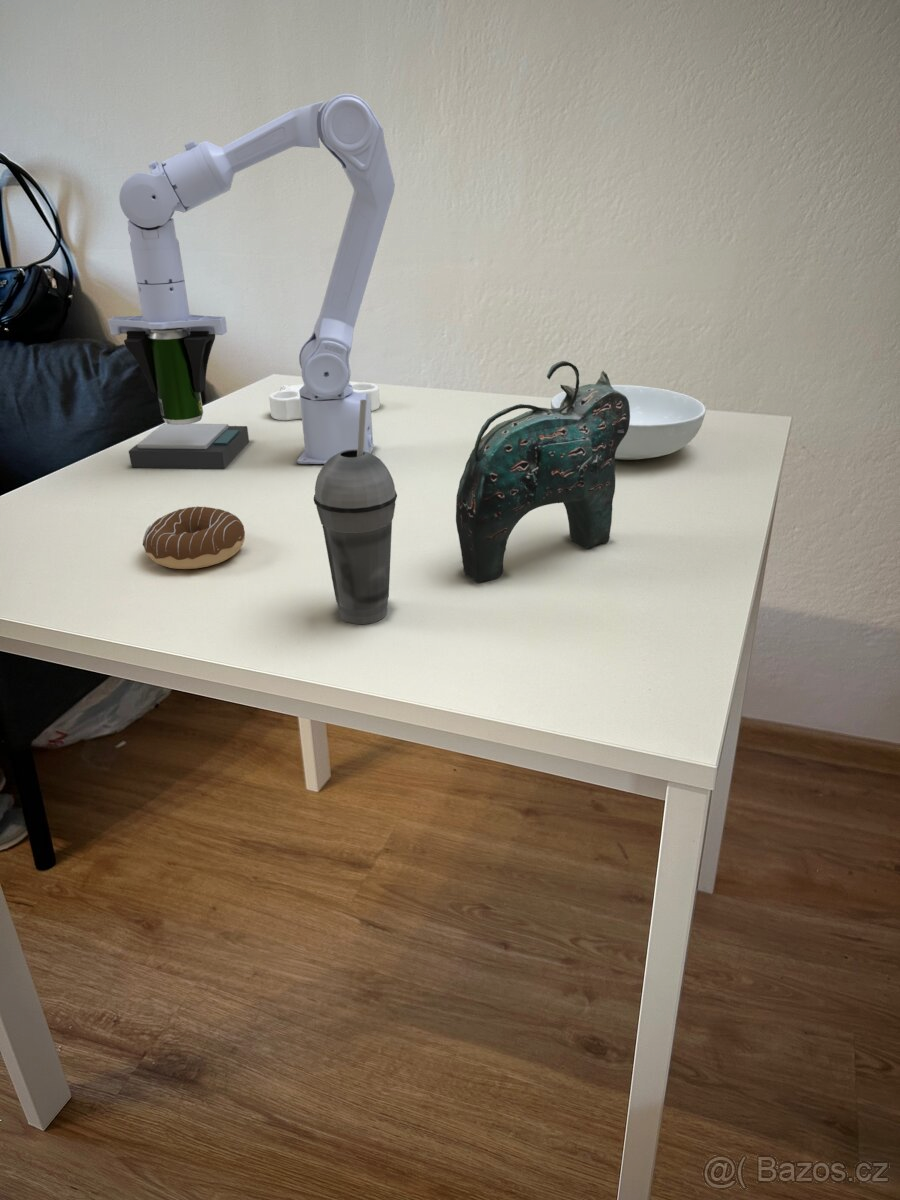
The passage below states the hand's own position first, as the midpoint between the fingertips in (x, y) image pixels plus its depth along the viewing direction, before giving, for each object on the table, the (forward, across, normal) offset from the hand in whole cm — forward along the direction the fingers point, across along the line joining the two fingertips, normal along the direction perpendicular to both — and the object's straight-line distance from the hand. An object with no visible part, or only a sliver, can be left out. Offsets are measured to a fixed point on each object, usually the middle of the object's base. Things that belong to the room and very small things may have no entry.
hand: (178, 390), depth 113 cm
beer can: (+4, 0, 0) cm, 4 cm away
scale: (+10, -1, +5) cm, 12 cm away
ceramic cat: (+11, +47, -27) cm, 56 cm away
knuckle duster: (+11, +13, +29) cm, 33 cm away
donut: (+11, +10, -28) cm, 32 cm away
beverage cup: (+11, +30, -40) cm, 51 cm away
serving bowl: (+11, +60, +9) cm, 61 cm away
